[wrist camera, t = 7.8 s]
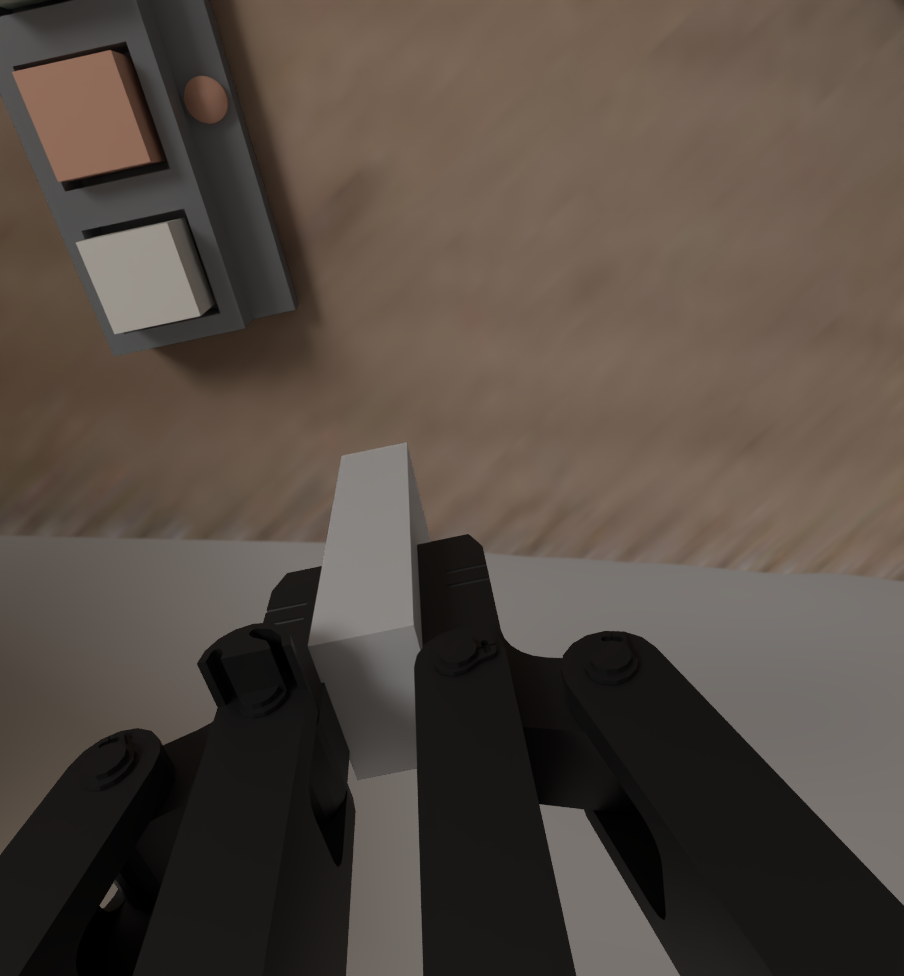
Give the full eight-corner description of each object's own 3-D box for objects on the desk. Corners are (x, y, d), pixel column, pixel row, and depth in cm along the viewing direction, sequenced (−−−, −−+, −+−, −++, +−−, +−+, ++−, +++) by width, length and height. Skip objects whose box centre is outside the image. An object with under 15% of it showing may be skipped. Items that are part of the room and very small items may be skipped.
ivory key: (184, 217, 34) (166, 222, 31) (215, 303, 36) (200, 316, 33) (100, 235, 34) (75, 242, 31) (135, 320, 36) (114, 334, 33)
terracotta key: (135, 58, 32) (110, 49, 29) (170, 160, 34) (150, 161, 31) (44, 78, 32) (11, 71, 29) (84, 179, 34) (58, 181, 31)
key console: (157, -176, 30) (127, -219, 26) (298, 304, 39) (289, 319, 36) (-53, -129, 30) (-111, -165, 26) (138, 338, 39) (114, 356, 36)
